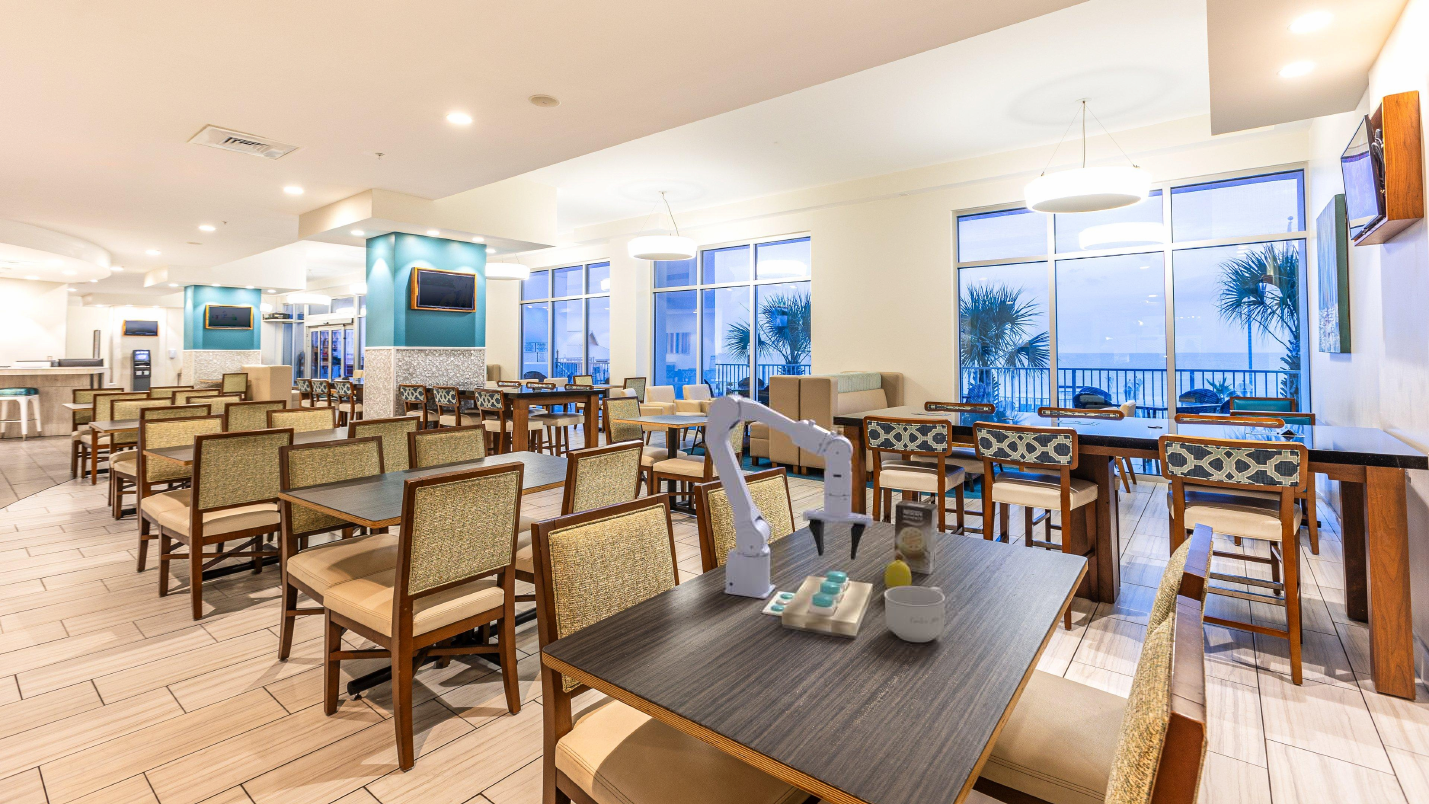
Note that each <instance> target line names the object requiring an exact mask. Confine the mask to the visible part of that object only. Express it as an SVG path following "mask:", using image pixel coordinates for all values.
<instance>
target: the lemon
mask: <svg viewBox="0 0 1429 804" xmlns="http://www.w3.org/2000/svg"><path fill="white" fill-rule="evenodd" d="M911 572H912V571H910V569H909V567H908V566H907V565H906V564H905V563H903V562H901V561H900V560H897V561H894V560H893V561H892V562H891V563H889V564H888V565H887V567H886V569H885V574H884V582H885V583H884V584H885V585H886V587H887V590H888V589H890V588H894V587H899V586H912V573H911Z"/></svg>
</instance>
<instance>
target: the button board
mask: <svg viewBox="0 0 1429 804" xmlns="http://www.w3.org/2000/svg"><path fill="white" fill-rule="evenodd" d="M806 577H807V578H806V579H805V580H804V582H803V583H802V585H801V586H800V587H799V588H798V589H797V591H796V592H795V595H794V596H793V598H792V599H791V600H790V602H789V603H788V604H787V606H786V607H785V609H784V610H783V611H782V616H781V627H782V628H784V629H791V630H796V631H797V630H798V631H802V632H803V631H804V632H808V633H809V632H810V633H815V634H821V635H828V636H834V637H838V638H840V637H841V638H845V639H852V640H856V639H857V637H858V634H859V632H860V629H861V628H862V627H861V626H862V624H863V623H864V622H863V621H864V619H865V616H866V614H867V612H868V609H869V607H870V604H871V601H872V600H873V589H874V588H873V585H874V584H873V583H868V582H859V581H853V580H852V581H851V580H849V587H848V589H847V591H843V598H842V600H841V602H840V603H836V612H835V614H834V616H826V615H820V614H813V613H809V605H810V603H811V602H812V596H813V595H814V594H817V592H818V591H819V589H820V584H821V583H822V582H824V581H825V580H826V578H827V577H821V576H812V575H808V576H806Z"/></svg>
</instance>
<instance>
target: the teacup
mask: <svg viewBox="0 0 1429 804" xmlns="http://www.w3.org/2000/svg"><path fill="white" fill-rule="evenodd" d="M883 597H884V605H885V607H884V608H885V612H884V613H885V620H886V623H887V626H888V628H889V630H890V631H891V632H892V633H893V634H895V635H896V636H897V637H898V638H899V639H901V640H903V641H906V642H911V643H926V642H927V643H928V642H930V641H932V640H934V639H936V637H937V636H939V635H940V634H941V633H942V632H943V630H944V628H945V617H946V616H945V614H946V613H945V611H946V610H945V601H946V597H945V595H944V593H943V590H942V589H941V588H940V587H938V586H932V587H930V588H929V587H925V586H920V585H919V586H917V585H911V586H899V587H894V588H890V589H888V588H887V590H885V591H884V593H883Z"/></svg>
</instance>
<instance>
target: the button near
mask: <svg viewBox="0 0 1429 804" xmlns="http://www.w3.org/2000/svg"><path fill="white" fill-rule="evenodd" d="M835 612H836V601H835V600H833V596H831V595H829V594H825V593H818V594H814V595H813V596H812V602H811V603H810V605H809V613H813V614H820V615H826V616H834V614H835Z"/></svg>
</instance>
